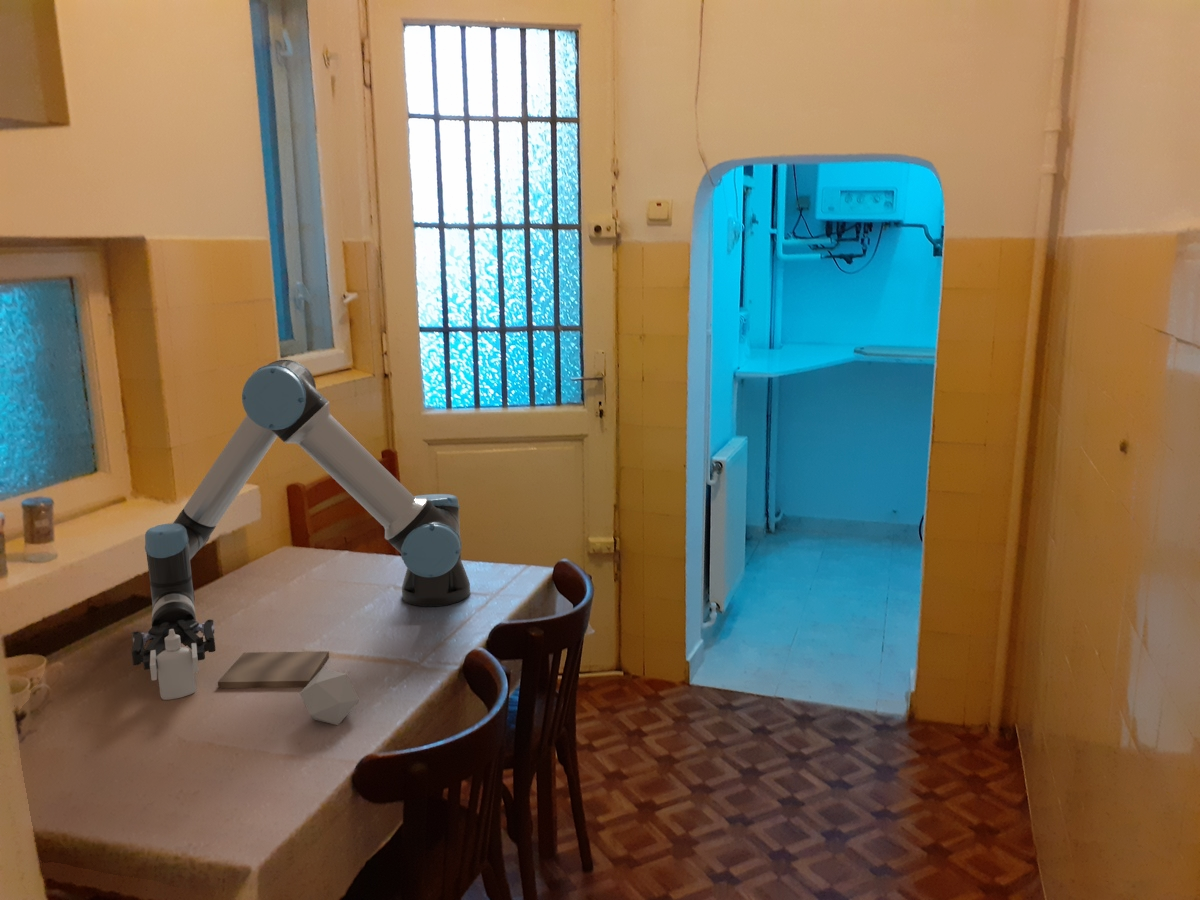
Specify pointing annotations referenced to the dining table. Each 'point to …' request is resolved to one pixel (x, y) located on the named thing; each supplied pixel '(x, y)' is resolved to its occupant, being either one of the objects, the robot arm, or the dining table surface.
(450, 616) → the dining table surface
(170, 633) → the eye dropper bottle
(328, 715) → the die
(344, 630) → the dining table surface
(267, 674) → the walnut board
